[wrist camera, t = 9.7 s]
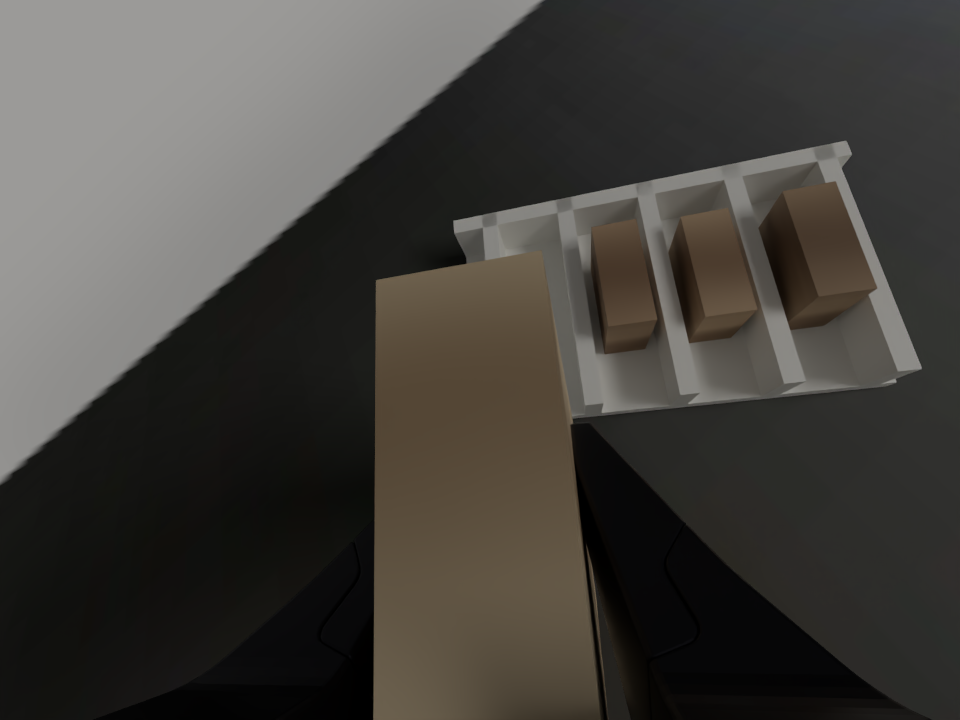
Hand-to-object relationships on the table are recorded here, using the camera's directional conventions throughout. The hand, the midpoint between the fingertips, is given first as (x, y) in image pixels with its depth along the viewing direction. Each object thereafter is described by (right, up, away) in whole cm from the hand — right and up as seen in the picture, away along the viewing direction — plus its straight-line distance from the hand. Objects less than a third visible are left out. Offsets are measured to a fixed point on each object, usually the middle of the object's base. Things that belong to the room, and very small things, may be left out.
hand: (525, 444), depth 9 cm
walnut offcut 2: (+10, +5, +13) cm, 17 cm away
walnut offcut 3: (+14, +6, +12) cm, 19 cm away
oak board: (+2, -3, +6) cm, 7 cm away
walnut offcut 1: (+6, +5, +14) cm, 16 cm away
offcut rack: (+8, +5, +14) cm, 17 cm away
